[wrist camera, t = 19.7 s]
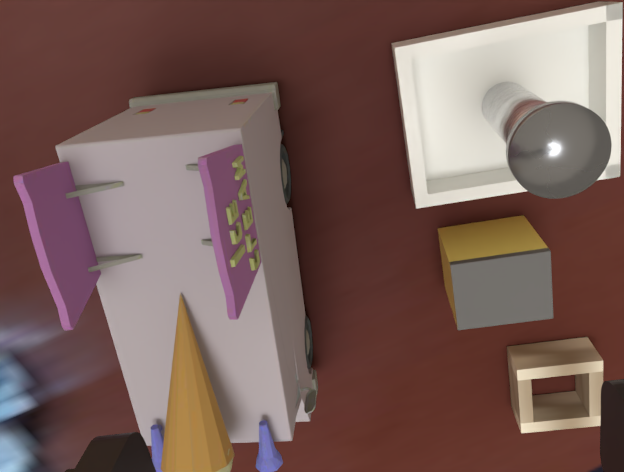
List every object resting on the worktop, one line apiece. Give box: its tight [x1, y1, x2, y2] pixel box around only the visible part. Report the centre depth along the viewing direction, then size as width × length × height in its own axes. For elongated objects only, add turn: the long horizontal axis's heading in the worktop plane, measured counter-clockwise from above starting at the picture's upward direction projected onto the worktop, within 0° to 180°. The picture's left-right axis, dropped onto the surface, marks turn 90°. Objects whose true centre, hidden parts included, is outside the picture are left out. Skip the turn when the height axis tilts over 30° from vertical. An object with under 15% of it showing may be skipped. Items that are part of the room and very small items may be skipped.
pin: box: [482, 82, 612, 199], centre depth 25 cm, size 3×3×11 cm
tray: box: [391, 2, 623, 209], centre depth 29 cm, size 10×8×3 cm
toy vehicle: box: [14, 82, 318, 472], centre depth 28 cm, size 9×20×15 cm, turn 7°
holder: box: [507, 337, 603, 433], centre depth 36 cm, size 5×5×2 cm
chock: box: [438, 215, 553, 330], centre depth 32 cm, size 5×4×5 cm
